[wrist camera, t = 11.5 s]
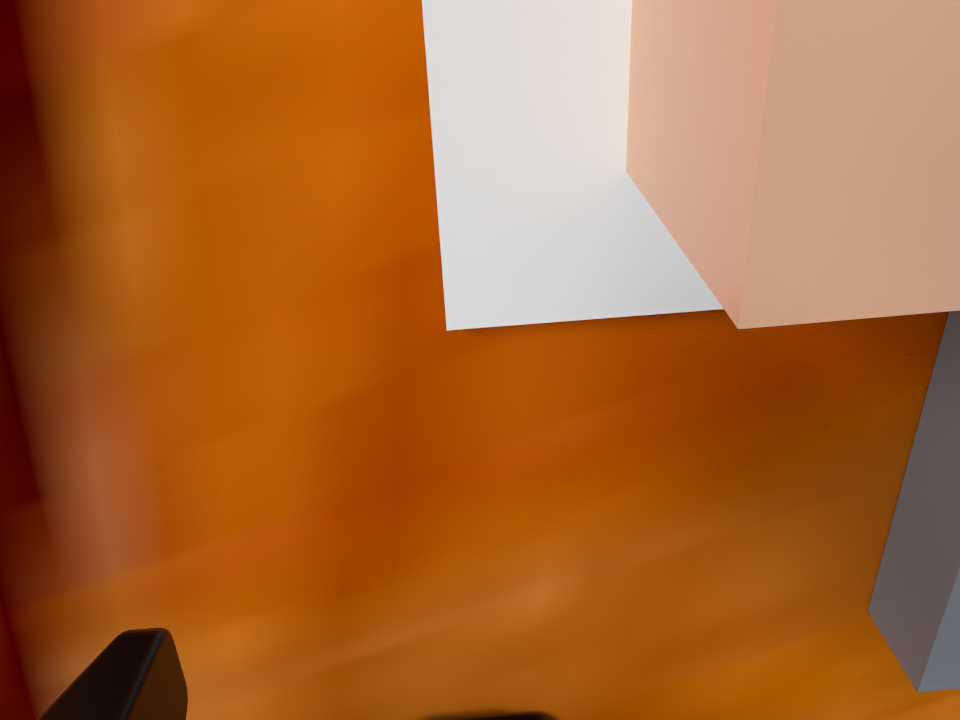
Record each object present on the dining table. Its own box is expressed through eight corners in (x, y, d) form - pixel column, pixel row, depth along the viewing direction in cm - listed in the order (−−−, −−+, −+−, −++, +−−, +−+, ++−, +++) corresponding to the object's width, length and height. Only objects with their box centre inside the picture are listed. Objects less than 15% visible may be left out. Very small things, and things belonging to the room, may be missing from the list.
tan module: (811, 156, 18) (1015, 305, 12) (626, 171, 18) (738, 328, 12) (851, -111, 15) (1138, -94, 9) (636, -97, 15) (785, -69, 9)
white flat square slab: (937, 280, 20) (951, 291, 20) (445, 318, 20) (447, 330, 19) (1103, -359, 14) (1128, -367, 14) (397, -328, 14) (396, -335, 13)
